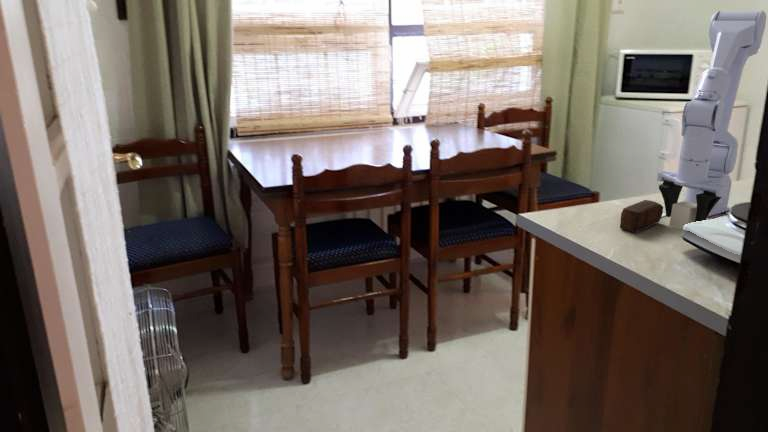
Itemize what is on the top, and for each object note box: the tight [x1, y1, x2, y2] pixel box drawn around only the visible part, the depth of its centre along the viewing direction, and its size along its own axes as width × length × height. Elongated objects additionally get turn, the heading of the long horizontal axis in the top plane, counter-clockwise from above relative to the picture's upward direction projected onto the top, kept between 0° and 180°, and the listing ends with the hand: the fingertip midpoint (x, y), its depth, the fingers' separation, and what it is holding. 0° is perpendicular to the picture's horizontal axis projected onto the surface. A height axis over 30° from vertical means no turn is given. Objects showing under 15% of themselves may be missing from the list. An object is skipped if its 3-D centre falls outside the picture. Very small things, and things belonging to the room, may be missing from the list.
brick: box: [619, 199, 664, 233], centre depth 127 cm, size 11×4×5 cm, turn 129°
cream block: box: [668, 200, 697, 231], centre depth 126 cm, size 4×4×5 cm
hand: (684, 220), depth 126 cm, fingers open, 6 cm apart
